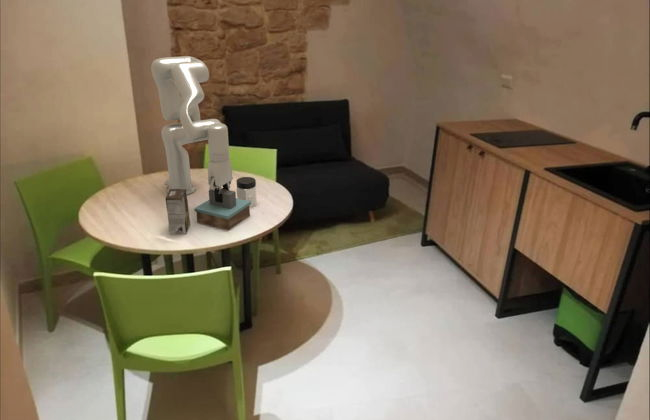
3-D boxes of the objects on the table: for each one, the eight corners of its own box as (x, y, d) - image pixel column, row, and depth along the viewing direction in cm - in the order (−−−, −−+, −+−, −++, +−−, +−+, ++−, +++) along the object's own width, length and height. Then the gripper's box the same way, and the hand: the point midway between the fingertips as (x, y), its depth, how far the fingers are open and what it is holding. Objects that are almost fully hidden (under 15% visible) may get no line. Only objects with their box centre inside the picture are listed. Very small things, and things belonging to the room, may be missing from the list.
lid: (194, 211, 193) (192, 194, 190) (218, 196, 206) (217, 181, 203) (228, 219, 187) (226, 201, 184) (250, 204, 200) (250, 187, 197)
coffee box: (174, 226, 194) (169, 188, 187) (190, 225, 194) (186, 188, 188) (169, 237, 185) (164, 198, 179) (186, 236, 186) (182, 197, 179)
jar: (241, 211, 208) (240, 185, 203) (233, 204, 214) (232, 179, 209) (260, 206, 212) (259, 181, 207) (252, 200, 218) (251, 175, 213)
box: (197, 224, 195) (196, 210, 193) (220, 210, 208) (219, 197, 205) (228, 232, 190) (227, 218, 187) (249, 217, 202) (249, 204, 200)
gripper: (224, 148, 196) (227, 191, 203) (197, 161, 182) (201, 205, 189) (239, 151, 193) (242, 194, 201) (214, 164, 179) (217, 209, 187)
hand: (222, 199), depth 195 cm, fingers closed on lid, 4 cm apart
